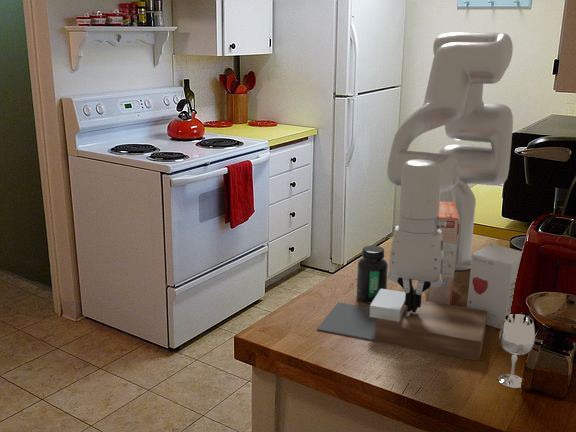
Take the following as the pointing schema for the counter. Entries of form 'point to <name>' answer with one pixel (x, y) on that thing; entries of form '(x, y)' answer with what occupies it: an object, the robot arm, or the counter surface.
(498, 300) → the supplement box
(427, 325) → the brown wooden block
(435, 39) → the robot arm
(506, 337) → the wineglass
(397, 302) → the tile
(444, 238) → the cracker box
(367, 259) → the supplement bottle
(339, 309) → the mat
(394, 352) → the counter surface
